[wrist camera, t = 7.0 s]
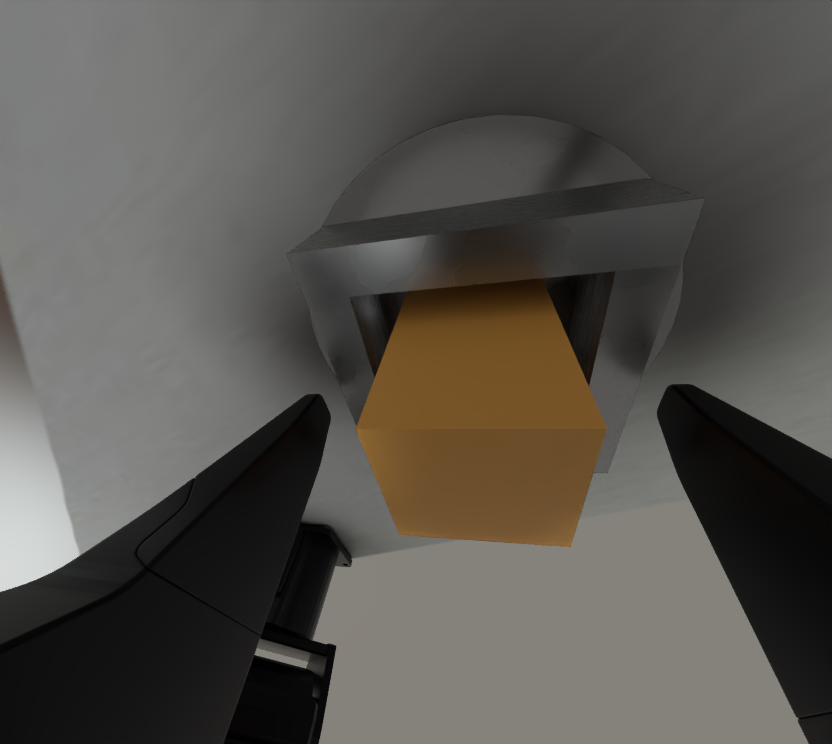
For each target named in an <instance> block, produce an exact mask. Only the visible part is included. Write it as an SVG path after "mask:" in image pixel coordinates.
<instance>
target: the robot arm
mask: <svg viewBox="0 0 832 744" xmlns="http://www.w3.org/2000/svg"><path fill="white" fill-rule="evenodd" d="M657 417H658V421H659V424H660V427H661V429H662V432H663V435H664V438H665V441H666V444H667V447H668V450H669V452H670V455H671V458H672V461H673V464H674V467H675V469H676V472H677V474H678V477H679V479H680V481H681V483H682V486H683V488H684V490H685V492H686V494H687V496H688V498H689V500H690V502H691V504H692V506H693V508H694V510H695V512H696V514H697V516H698V518H699V520H700V522H701V524H702V526H703V528H704V530H705V532H706V534H707V536H708V539H709V540H710V543H711V545H712V546H713V549H714V551H715V553H716V555H717V557H718V559H719V561H720V563H721V565H722V567H723V569H724V571H725V573H726V575H727V577H728V579H729V581H730V583H731V585H732V587H733V589H734V592H735V594H736V596H737V597H738V600H739V602H740V604H741V606H742V608H743V610H744V612H745V614H746V616H747V617H748V620H749V622H750V624H751V626H752V628H753V630H754V632H755V634H756V636H757V638H758V640H759V642H760V644H761V646H762V649H763V651H764V653H765V655H766V657H767V659H768V661H769V663H770V665H771V667H772V669H773V671H774V673H775V675H776V677H777V679H778V681H779V683H780V685H781V687H782V689H783V691H784V693H785V695H786V697H787V699H788V701H789V704H790V706H791V708H792V710H793V711H794V714H795V715H796V717H797V718H799V719H798V723H799V725H800V727H801V729H802V730H803V733H804V735H805V737H806V739H807V741H808V743H809V744H832V459H831V458H829V457H828V456H826V455H824V454H822V453H820V452H818V451H816V450H814V449H813V448H811V447H809V446H807V445H805V444H803V443H801V442H799V441H797V440H796V439H794V438H792V437H790V436H788V435H786V434H784V433H782V432H780V431H779V430H777V429H775V428H773V427H771V426H769V425H767V424H765V423H763V422H762V421H760V420H758V419H756V418H754V417H752V416H750V415H748V414H746V413H745V412H743V411H741V410H739V409H737V408H735V407H733V406H731V405H730V404H728V403H726V402H724V401H722V400H720V399H718V398H716V397H714V396H713V395H711V394H709V393H707V392H705V391H703V390H701V389H699V388H697V387H696V386H693V385H691V384H673V385H670V386H668V387H667V389H666V390H665V393H664V395H663V397H662V400H661V402H660V404H659V407H658V409H657ZM330 421H331V415H330V412H329V410H328V408H327V405H326V403H325V401H324V399H323V397H322V396H321V395H320V394H308V395H305V396H304V397H302V398H301V399H300V400H298V401H297V402H296V403H294V404H293V405H292V406H290V407H289V408H288V409H286V410H285V411H284V412H282V413H281V414H279V415H278V416H277V417H275V418H274V419H273V420H271V421H270V422H269V423H267V424H266V425H265V426H263V427H262V428H260V429H259V430H258V431H256V432H255V433H254V434H252V435H251V436H250V437H248V438H247V439H246V440H244V441H243V442H241V443H240V444H239V445H237V446H236V447H235V448H233V449H232V450H231V451H229V452H228V453H227V454H225V455H224V456H223V457H221V458H220V459H218V460H217V461H216V462H214V463H213V464H212V465H210V466H209V467H208V468H206V469H205V470H204V471H202V472H201V473H199V474H198V475H197V476H196V477H195V478H193V479H191V480H190V481H189V482H187V483H186V484H185V485H183V486H182V487H180V488H179V489H178V490H176V491H175V492H174V493H172V494H171V495H169V496H168V497H167V498H165V499H164V500H162V501H161V502H160V503H158V504H157V505H155V506H154V507H152V508H151V509H149V510H148V511H146V512H145V513H143V514H142V515H140V516H139V517H138V518H136V519H135V520H133V521H132V522H130V523H129V524H127V525H126V526H124V527H123V528H121V529H120V530H118V531H116V532H115V533H113V534H112V535H110V536H109V537H107V538H106V539H104V540H103V541H101V542H100V543H98V544H97V545H95V546H94V547H92V548H91V549H89V550H88V551H86V552H85V553H83V554H82V555H80V556H79V557H77V558H76V559H74V560H73V561H71V562H70V563H68V564H66V565H65V566H63V567H61V568H60V569H57V570H56V571H54V572H52V573H50V574H48V575H46V576H43V577H41V578H39V579H37V580H34V581H32V582H29V583H27V584H24V585H21V586H18V587H15V588H12V589H9V590H6V591H2V592H0V744H318V743H319V739H320V734H321V730H322V724H323V718H324V713H325V707H326V702H327V696H328V691H329V685H330V679H331V674H332V668H333V662H334V656H335V651H336V646H335V645H333V644H322V643H319V642H316V641H312V640H313V637H314V634H315V630H316V627H317V624H318V620H319V617H320V614H321V611H322V608H323V604H324V601H325V598H326V594H327V591H328V588H329V585H330V581H331V578H332V575H333V572H334V568H335V566H342V567H350V566H351V563H352V559H351V558H350V557H349V555H348V554H347V552H346V551H345V549H344V548H343V546H342V545H341V543H340V542H339V541H338V539H337V538H336V536H335V535H334V533H333V532H332V530H330V529H329V528H325V527H313V526H299V525H300V522H301V519H302V516H303V513H304V510H305V508H306V505H307V502H308V499H309V496H310V493H311V490H312V488H313V485H314V482H315V479H316V476H317V473H318V470H319V467H320V463H321V460H322V455H323V451H324V447H325V443H326V438H327V434H328V430H329V425H330ZM256 648H259V649H263V650H266V651H270V652H274V653H277V654H281V655H285V656H288V657H292V658H296V659H300V660H303V661H307V662H308V665H307V668H306V669H305V668H301V667H297V666H294V665H290V664H286V663H282V662H278V661H275V660H271V659H267V658H263V657H260V656H256V655H254V654H255V651H256Z"/></svg>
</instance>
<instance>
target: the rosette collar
mask: <svg viewBox="0 0 832 744" xmlns="http://www.w3.org/2000/svg"><path fill="white" fill-rule="evenodd" d="M705 199H706V198H703V197H700V196H698V195H695V194H692V193H689V192H686V191H683V190H680V189H677V188H674V187H672V186H669V185H666V184H663V183H660V182H657V181H654V180H652V179H651V178H650V177H649V175H648V174H647V173H646V172H645V171H644V170H643V169H642V168H640V167H639V166H638V165H637V164H636V163H635V162H634V161H633V160H632V159H631V158H630V157H629V156H628V155H627V154H626V153H624V152H623V151H621V150H620V149H618V148H617V147H615V146H613V145H612V144H610V143H609V142H607V141H606V140H604V139H603V138H601V137H600V136H597V135H595V134H593V133H590V132H588V131H585V130H583V129H580V128H578V127H575V126H573V125H571V124H568V123H564V122H559V121H554V120H550V119H545V118H541V117H536V116H520V115H492V116H484V117H476V118H467V119H462V120H459V121H455V122H452V123H448V124H445V125H442V126H438V127H435V128H431V129H429V130H427V131H425V132H423V133H421V134H418V135H416V136H414V137H412V138H410V139H408V140H406V141H404V142H401V143H400V144H398V145H397V146H395V147H394V148H393V149H391V150H390V151H388V152H387V153H385V154H384V155H382V156H381V157H379V158H378V159H376V160H375V161H374V162H373V163H372V164H371V165H369V166H368V167H367V168H366V169H365V170H364V171H363V172H362V173H361V174H360V175H359V176H358V177H356V178H355V179H354V180H353V181H352V183H351V184H350V185H349V187H348V188H347V189H346V190H345V192H344V193H343V194H342V195H341V197H340V198H339V199H338V200H337V202H336V203H335V205H334V207H333V208H332V210H331V212H330V214H329V215H328V217H327V219H326V221H325V222H324V224H323V226H322V228H321V229H320V230H319V231H317V232H316V233H314V234H313V235H312V236H310V237H309V238H308V239H306V240H305V241H304V242H302V243H301V244H299V245H298V246H297V247H295V248H294V249H293V250H291V251H290V252H289V253H287V257H288V259H289V261H290V264H291V266H292V269H293V271H294V274H295V276H296V279H297V281H298V283H299V286H300V288H301V291H302V293H303V296H304V298H305V301H306V303H307V306H308V308H309V312H310V317H311V322H312V327H313V331H314V334H315V336H316V339H317V342H318V345H319V348H320V350H321V352H322V354H323V356H324V358H325V360H326V362H327V364H328V365H329V367H330V368H331V370H332V371H333V373H334V374H335V376H336V377H337V379H338V381H339V384H340V386H341V389H342V391H343V394H344V396H345V399H346V401H347V404H348V406H349V408H350V411H351V413H352V416H353V418H354V421H355V423H356V426H357V424H358V422H359V419H360V416H361V414H362V411H363V408H364V406H365V403H366V400H367V398H368V395H369V392H370V390H371V387H372V384H373V382H374V379H375V376H376V374H377V371H378V368H379V366H380V363H381V360H382V358H383V355H384V352H385V350H386V347H387V344H388V342H389V339H390V336H391V334H392V331H393V328H394V326H395V323H396V320H397V318H398V315H399V312H400V310H401V307H402V304H403V302H404V299H405V296H406V294H407V291H414V290H424V289H435V288H445V287H456V286H466V285H476V284H487V283H497V282H508V281H518V280H528V279H539V278H542V279H543V282H544V284H545V286H546V289H547V291H548V293H549V296H550V298H551V300H552V302H553V305H554V307H555V309H556V312H557V314H558V316H559V319H560V321H561V323H562V326H563V328H564V330H565V333H566V335H567V337H568V340H569V342H570V344H571V346H572V349H573V351H574V353H575V356H576V358H577V360H578V363H579V365H580V367H581V370H582V372H583V374H584V377H585V379H586V381H587V384H588V386H589V388H590V391H591V393H592V395H593V397H594V400H595V402H596V404H597V407H598V409H599V411H600V414H601V416H602V418H603V421H604V423H605V425H606V428H607V430H606V434H605V437H604V440H603V443H602V446H601V450H600V453H599V456H598V459H597V463H596V466H595V469H594V472H593V473H608V470H609V467H610V464H611V462H612V459H613V456H614V453H615V450H616V448H617V445H618V442H619V439H620V436H621V434H622V431H623V428H624V425H625V422H626V420H627V417H628V414H629V411H630V408H631V406H632V403H633V400H634V397H635V394H636V392H637V389H638V386H639V383H640V380H641V378H642V375H643V374H644V373H645V372H646V370H647V369H648V368H649V367H650V366H651V364H652V363H653V361H654V360H655V358H656V357H657V355H658V354H659V352H660V350H661V349H662V347H663V346H664V344H665V342H666V339H667V337H668V335H669V333H670V331H671V329H672V327H673V324H674V321H675V318H676V314H677V311H678V308H679V304H680V300H681V293H682V285H683V278H684V274H683V260H684V257H685V255H686V252H687V249H688V246H689V244H690V241H691V238H692V235H693V232H694V230H695V227H696V224H697V221H698V218H699V216H700V213H701V210H702V207H703V204H704V202H705Z"/></svg>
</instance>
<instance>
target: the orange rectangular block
mask: <svg viewBox="0 0 832 744" xmlns="http://www.w3.org/2000/svg"><path fill="white" fill-rule="evenodd" d="M606 430H607V428H606V425H605V423H604V421H603V418H602V416H601V414H600V411H599V409H598V407H597V404H596V402H595V400H594V397H593V395H592V393H591V391H590V388H589V386H588V384H587V381H586V379H585V377H584V374H583V372H582V370H581V367H580V365H579V363H578V360H577V358H576V356H575V353H574V351H573V349H572V346H571V344H570V342H569V340H568V337H567V335H566V333H565V330H564V328H563V326H562V323H561V321H560V319H559V316H558V314H557V312H556V309H555V307H554V305H553V302H552V300H551V298H550V296H549V293H548V291H547V289H546V286H545V284H544V282H543V279H542V278H539V279H528V280H518V281H508V282H497V283H487V284H476V285H466V286H456V287H445V288H435V289H424V290H414V291H407V294H406V296H405V299H404V302H403V304H402V307H401V310H400V312H399V315H398V318H397V320H396V323H395V326H394V328H393V331H392V334H391V336H390V339H389V342H388V344H387V347H386V350H385V352H384V355H383V358H382V360H381V363H380V366H379V368H378V371H377V374H376V376H375V379H374V382H373V384H372V387H371V390H370V392H369V395H368V398H367V400H366V403H365V406H364V408H363V411H362V414H361V416H360V419H359V422H358V424H357V427H356V431H357V434H358V436H359V439H360V441H361V443H362V446H363V448H364V451H365V453H366V455H367V458H368V460H369V463H370V465H371V467H372V470H373V472H374V475H375V477H376V479H377V482H378V484H379V487H380V489H381V491H382V494H383V496H384V498H385V501H386V503H387V506H388V508H389V510H390V513H391V515H392V518H393V520H394V522H395V525H396V527H397V530H398V532H399V534H400V535H407V536H421V537H435V538H449V539H463V540H477V541H478V540H479V541H493V542H506V543H520V544H535V545H549V546H562V547H571V544H572V541H573V537H574V534H575V531H576V527H577V524H578V521H579V518H580V515H581V511H582V508H583V505H584V502H585V498H586V495H587V492H588V489H589V485H590V482H591V479H592V476H593V472H594V469H595V466H596V463H597V459H598V456H599V453H600V450H601V446H602V443H603V440H604V437H605V434H606Z"/></svg>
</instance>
